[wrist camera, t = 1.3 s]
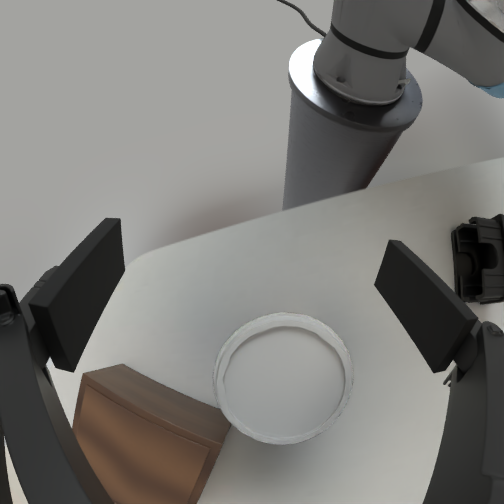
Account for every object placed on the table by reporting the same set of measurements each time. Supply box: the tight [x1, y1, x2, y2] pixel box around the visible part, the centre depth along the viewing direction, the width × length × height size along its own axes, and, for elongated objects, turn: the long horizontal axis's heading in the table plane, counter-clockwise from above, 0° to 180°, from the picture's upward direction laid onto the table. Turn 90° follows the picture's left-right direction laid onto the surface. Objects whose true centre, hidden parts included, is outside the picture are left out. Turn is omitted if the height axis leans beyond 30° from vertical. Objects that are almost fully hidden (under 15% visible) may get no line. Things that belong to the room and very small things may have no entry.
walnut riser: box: [72, 364, 231, 504], centre depth 22 cm, size 14×14×8 cm
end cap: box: [451, 214, 504, 304], centre depth 25 cm, size 10×7×7 cm
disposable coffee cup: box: [213, 312, 353, 445], centre depth 22 cm, size 10×10×12 cm
